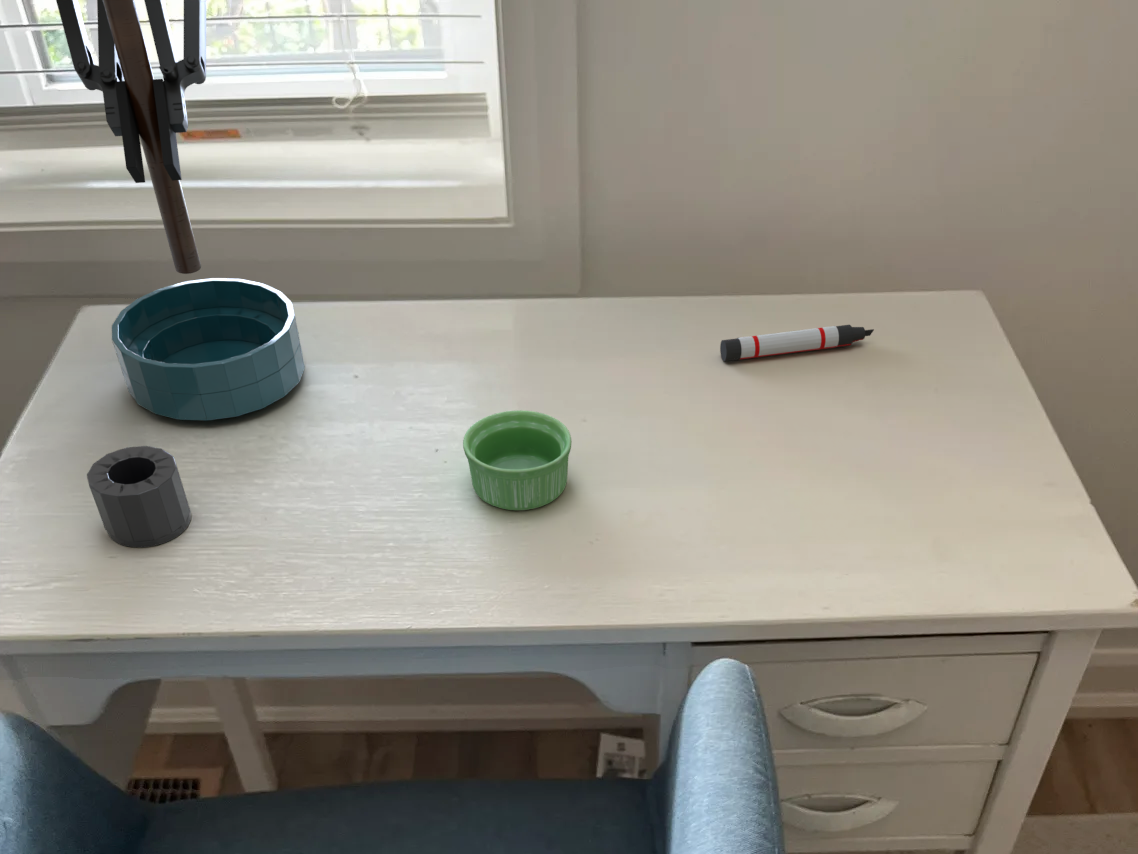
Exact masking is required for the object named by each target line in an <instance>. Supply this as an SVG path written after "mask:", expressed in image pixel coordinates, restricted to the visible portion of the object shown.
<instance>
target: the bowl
mask: <svg viewBox="0 0 1138 854" xmlns="http://www.w3.org/2000/svg"><path fill="white" fill-rule="evenodd" d="M296 319H297V318H296V314H295V308H294V304H293V302H292V301H291V300H290V299H289V298H288V297H287V296H286V295H285V294H284V293H283V292H282V291H281V290H279V289H276V288H274V287H273V286H270V285H268V284H265V283H263V282H260V281H259V282H258V281H253V280H249V279H243V278H229V277H227V278H226V277H211V278H202V279H195V280H186V281H182V282H178V283H174V284H171V285H167V286H163V287H160V288H158V289H155V290H153V291H150V292H148V293H146V294H144V295H142V296H140V297H138V298H135V300H134V301H132V302H131V303H129V304H128V305H126V306H125V307H124V308H123V309H122V310H121V311H120V312H119V313H118V314H117V317H116V318H115V320H114V321H113V323H112V324H111V341H112V344H113V348H114V350H115V354H116V357H117V360H118V363H119V366H120V369H121V372H122V376H123V378H124V381H125V385H126V388H127V391H128V393H129V394H130V395H131V397H132V398H133V400H134V401H135V402H136V404H137V405H138V406H140V407H142V408H143V409H145V410H147V411H149V412H151V413H152V414H154V415H158V416H162V417H166V418H167V417H168V418H169V419H174V420H179V421H180V420H181V421H182V420H183V421H214V420H221V419H222V420H223V419H229V418H235V417H241V416H243V415H246V414H251V413H252V412H256V411H258V410H262V409H264V408H266V407H267V406H270V405H272V404H274V403H275V402H277V401H279V400H281V399H283V398H285V397H286V396H287V395H288V394H289V393H290V392H291V391H292V390H293V389H294V388H295V387H297V385H298V384H300V381H301V379H302V377H303V374H304V372H305V368H306V365H305V361H304V355H303V350H302V345H301V339H300V335H299V330H298V325H297V324H298V323H297V320H296Z"/></svg>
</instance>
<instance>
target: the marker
mask: <svg viewBox="0 0 1138 854" xmlns="http://www.w3.org/2000/svg"><path fill="white" fill-rule="evenodd" d="M874 331H875V329H874V328H873V329H872V328H871V329H866V328H865V327H863V326H852V325H851V324H843V325H831V326H822V327H815V328H805V329H799V330H789V331H782V332H773V333H766V334H758V335H749V336H740V337H736V338H729V339H721V341H720V345H719V352H720V357H721V360H722V361H723V362H726V361H736V360H747V359H754V358H763V357H770V356H779V355H786V354H794V353H802V352H810V351H818V350H819V351H820V350H826V349H835V348H838V347H848V346H851V345H853V343H855V342H858V341H863V340H865V338H866V337H870V336H871V335H872V333H874Z"/></svg>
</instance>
